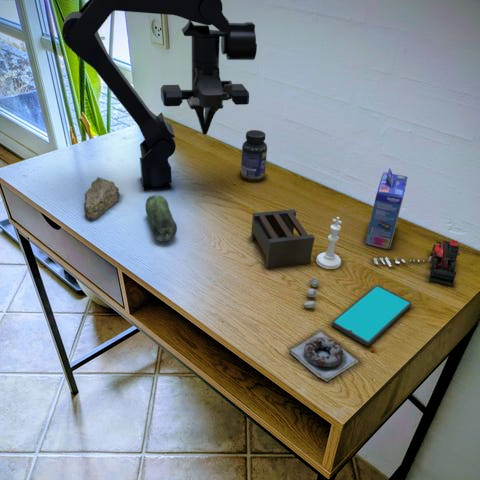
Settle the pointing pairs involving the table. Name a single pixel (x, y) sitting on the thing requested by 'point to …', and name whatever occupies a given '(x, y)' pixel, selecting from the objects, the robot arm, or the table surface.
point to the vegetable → (160, 218)
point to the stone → (100, 197)
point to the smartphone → (371, 315)
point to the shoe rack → (281, 238)
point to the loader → (444, 262)
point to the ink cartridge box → (386, 210)
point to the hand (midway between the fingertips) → (204, 133)
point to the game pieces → (311, 293)
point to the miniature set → (395, 261)
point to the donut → (323, 356)
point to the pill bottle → (254, 156)
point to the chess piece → (331, 249)
